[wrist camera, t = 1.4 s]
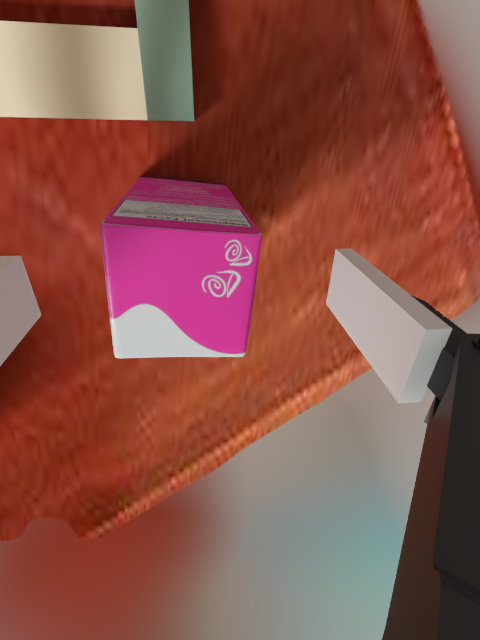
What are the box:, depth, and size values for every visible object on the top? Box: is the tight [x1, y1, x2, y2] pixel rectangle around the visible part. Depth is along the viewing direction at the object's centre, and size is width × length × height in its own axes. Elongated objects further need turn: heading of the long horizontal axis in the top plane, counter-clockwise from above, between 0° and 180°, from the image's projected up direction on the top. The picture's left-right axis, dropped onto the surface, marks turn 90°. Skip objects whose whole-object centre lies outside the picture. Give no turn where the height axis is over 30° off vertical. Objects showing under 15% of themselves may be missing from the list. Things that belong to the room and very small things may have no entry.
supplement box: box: [101, 177, 262, 358], centre depth 17 cm, size 6×6×12 cm
